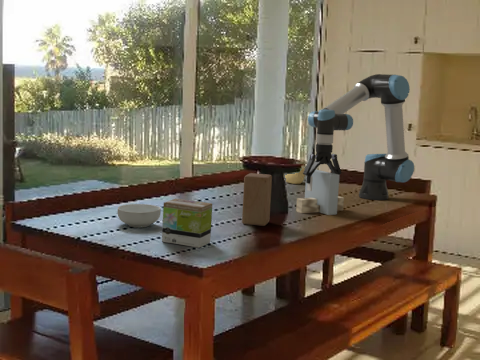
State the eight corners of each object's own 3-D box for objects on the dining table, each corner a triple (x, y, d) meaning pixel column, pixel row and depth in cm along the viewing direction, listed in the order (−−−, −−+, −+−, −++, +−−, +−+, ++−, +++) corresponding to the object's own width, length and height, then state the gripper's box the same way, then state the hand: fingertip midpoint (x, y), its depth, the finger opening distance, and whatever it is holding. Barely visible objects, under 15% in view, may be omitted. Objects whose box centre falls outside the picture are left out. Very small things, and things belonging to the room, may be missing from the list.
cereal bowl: (121, 219, 294) (122, 202, 293) (162, 222, 294) (163, 204, 293) (113, 228, 277) (113, 210, 276) (156, 231, 277) (157, 212, 276)
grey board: (304, 207, 342) (306, 169, 340) (312, 207, 345) (315, 169, 342) (327, 214, 327) (330, 175, 325) (336, 214, 330) (339, 174, 327)
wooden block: (265, 226, 295) (268, 177, 292) (241, 224, 297) (243, 175, 294) (269, 222, 305) (272, 174, 302) (246, 219, 307) (248, 172, 304)
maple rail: (337, 208, 344) (338, 196, 343) (343, 210, 341) (344, 197, 340) (296, 211, 331) (296, 198, 331) (301, 213, 328) (302, 200, 327)
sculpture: (299, 185, 411) (300, 166, 409) (280, 183, 417) (281, 164, 415) (307, 183, 421) (309, 165, 419) (289, 181, 427) (290, 162, 425)
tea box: (161, 242, 259) (162, 201, 257) (173, 237, 268) (175, 197, 266) (199, 248, 253) (201, 206, 251) (211, 242, 263) (213, 202, 261)
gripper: (340, 142, 341) (337, 187, 344) (297, 143, 328) (294, 189, 331) (351, 144, 335) (347, 190, 338) (307, 144, 322) (304, 192, 325)
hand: (321, 190), depth 335 cm, fingers open, 13 cm apart
